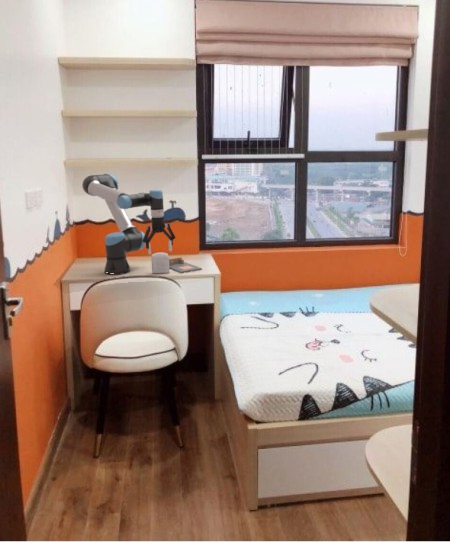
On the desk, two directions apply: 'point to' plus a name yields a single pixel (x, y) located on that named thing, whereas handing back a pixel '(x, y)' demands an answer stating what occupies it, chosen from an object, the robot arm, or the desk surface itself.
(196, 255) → the desk surface
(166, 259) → the photo printer
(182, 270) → the dock
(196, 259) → the desk surface
